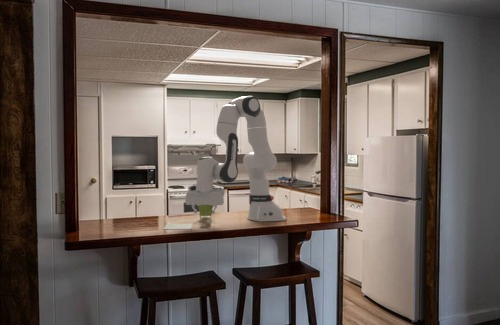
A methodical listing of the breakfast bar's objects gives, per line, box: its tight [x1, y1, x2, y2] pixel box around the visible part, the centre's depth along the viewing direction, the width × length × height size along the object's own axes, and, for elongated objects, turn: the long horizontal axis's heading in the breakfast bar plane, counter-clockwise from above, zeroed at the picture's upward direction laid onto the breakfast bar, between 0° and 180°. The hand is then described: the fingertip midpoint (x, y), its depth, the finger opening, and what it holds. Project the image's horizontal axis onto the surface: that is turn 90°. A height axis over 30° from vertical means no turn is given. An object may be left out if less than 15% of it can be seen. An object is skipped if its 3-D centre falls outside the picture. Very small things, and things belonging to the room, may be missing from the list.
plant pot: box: [197, 205, 214, 221], centre depth 244 cm, size 9×9×9 cm
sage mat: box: [163, 223, 194, 230], centre depth 222 cm, size 14×14×1 cm
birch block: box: [200, 215, 212, 228], centre depth 225 cm, size 5×5×5 cm
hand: (204, 213), depth 224 cm, fingers open, 8 cm apart
